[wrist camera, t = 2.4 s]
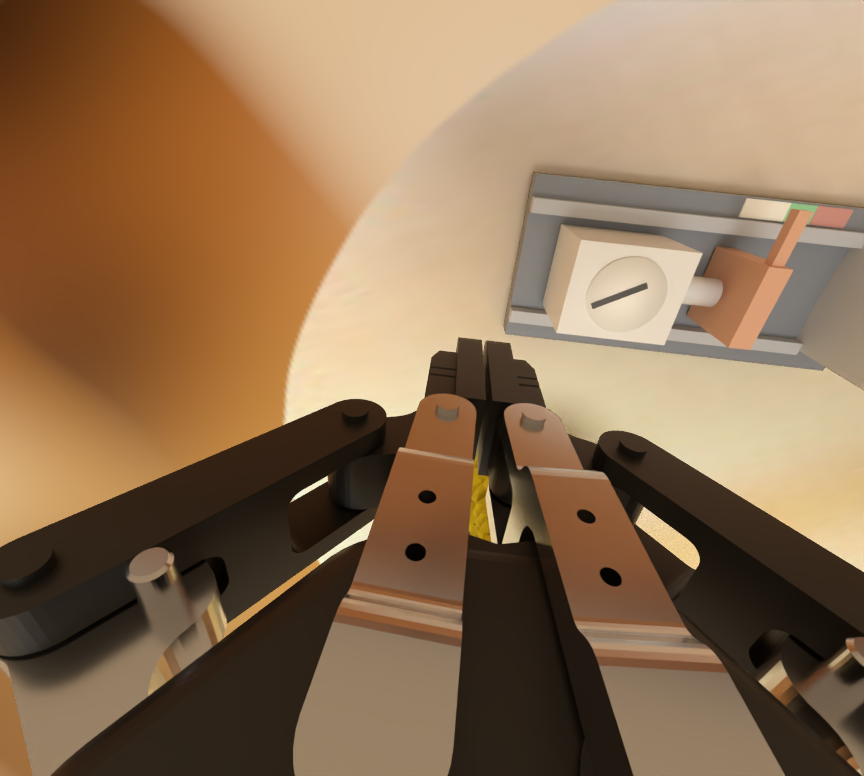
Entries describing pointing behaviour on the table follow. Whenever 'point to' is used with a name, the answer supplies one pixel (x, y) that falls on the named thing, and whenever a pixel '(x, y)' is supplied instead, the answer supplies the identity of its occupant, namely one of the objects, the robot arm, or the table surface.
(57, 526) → the robot arm
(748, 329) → the brown slider plate
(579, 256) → the gauge housing
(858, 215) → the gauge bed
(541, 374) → the table surface
